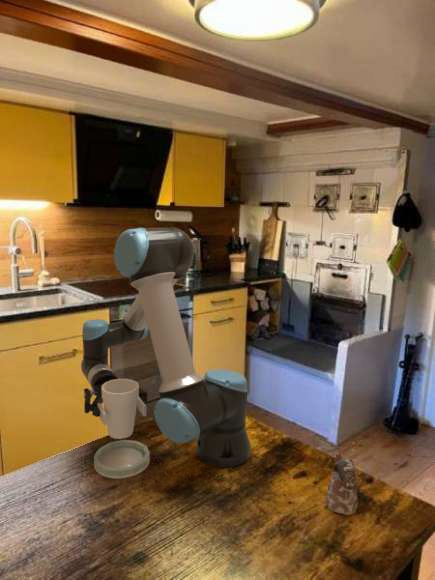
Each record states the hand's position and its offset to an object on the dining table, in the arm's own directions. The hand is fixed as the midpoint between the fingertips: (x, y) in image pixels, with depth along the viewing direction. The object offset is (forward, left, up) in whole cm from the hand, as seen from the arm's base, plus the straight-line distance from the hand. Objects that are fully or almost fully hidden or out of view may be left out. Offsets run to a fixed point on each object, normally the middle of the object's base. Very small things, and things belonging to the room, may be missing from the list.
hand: (125, 415), depth 108 cm
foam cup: (+4, -2, -7) cm, 8 cm away
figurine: (-48, -23, -16) cm, 56 cm away
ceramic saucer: (+4, -2, -15) cm, 16 cm away
